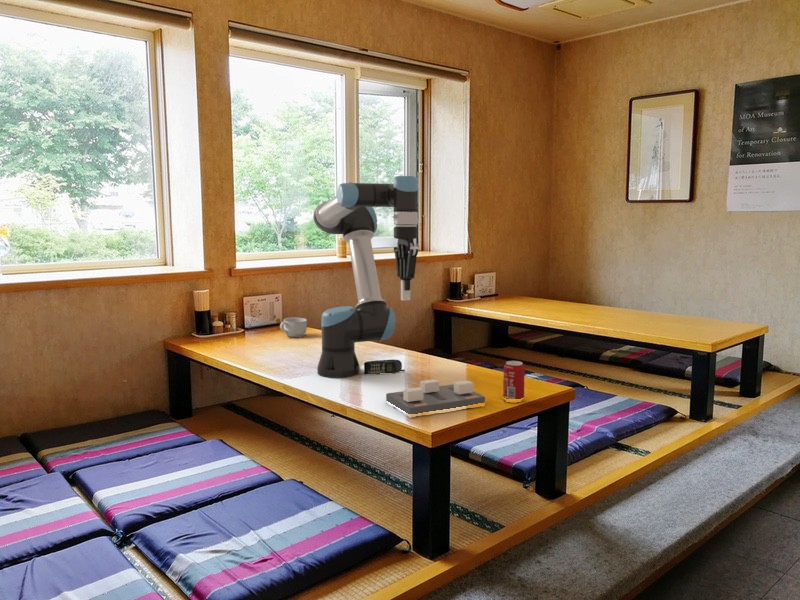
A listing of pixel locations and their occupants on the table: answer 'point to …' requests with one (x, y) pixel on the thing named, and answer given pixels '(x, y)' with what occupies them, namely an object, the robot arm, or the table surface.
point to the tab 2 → (429, 386)
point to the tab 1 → (413, 394)
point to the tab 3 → (463, 387)
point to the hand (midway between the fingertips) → (405, 300)
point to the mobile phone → (382, 366)
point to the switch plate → (435, 400)
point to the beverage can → (513, 380)
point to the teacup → (294, 326)
